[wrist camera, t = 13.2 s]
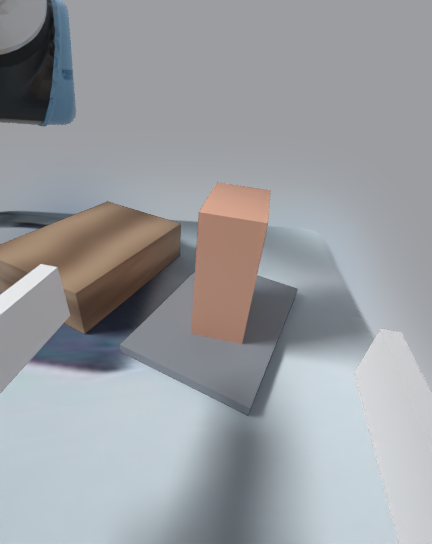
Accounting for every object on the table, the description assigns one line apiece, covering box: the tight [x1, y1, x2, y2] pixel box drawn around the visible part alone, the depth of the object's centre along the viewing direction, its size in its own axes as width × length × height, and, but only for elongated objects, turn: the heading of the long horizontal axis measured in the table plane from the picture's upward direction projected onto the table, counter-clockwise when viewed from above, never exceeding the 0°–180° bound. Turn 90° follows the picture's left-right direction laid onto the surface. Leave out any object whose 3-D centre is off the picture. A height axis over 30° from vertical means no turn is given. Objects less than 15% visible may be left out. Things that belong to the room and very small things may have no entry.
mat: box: [120, 272, 297, 415], centre depth 25 cm, size 10×14×1 cm
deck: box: [0, 202, 181, 334], centre depth 28 cm, size 10×14×4 cm
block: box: [191, 183, 270, 344], centre depth 22 cm, size 4×6×10 cm, turn 169°
